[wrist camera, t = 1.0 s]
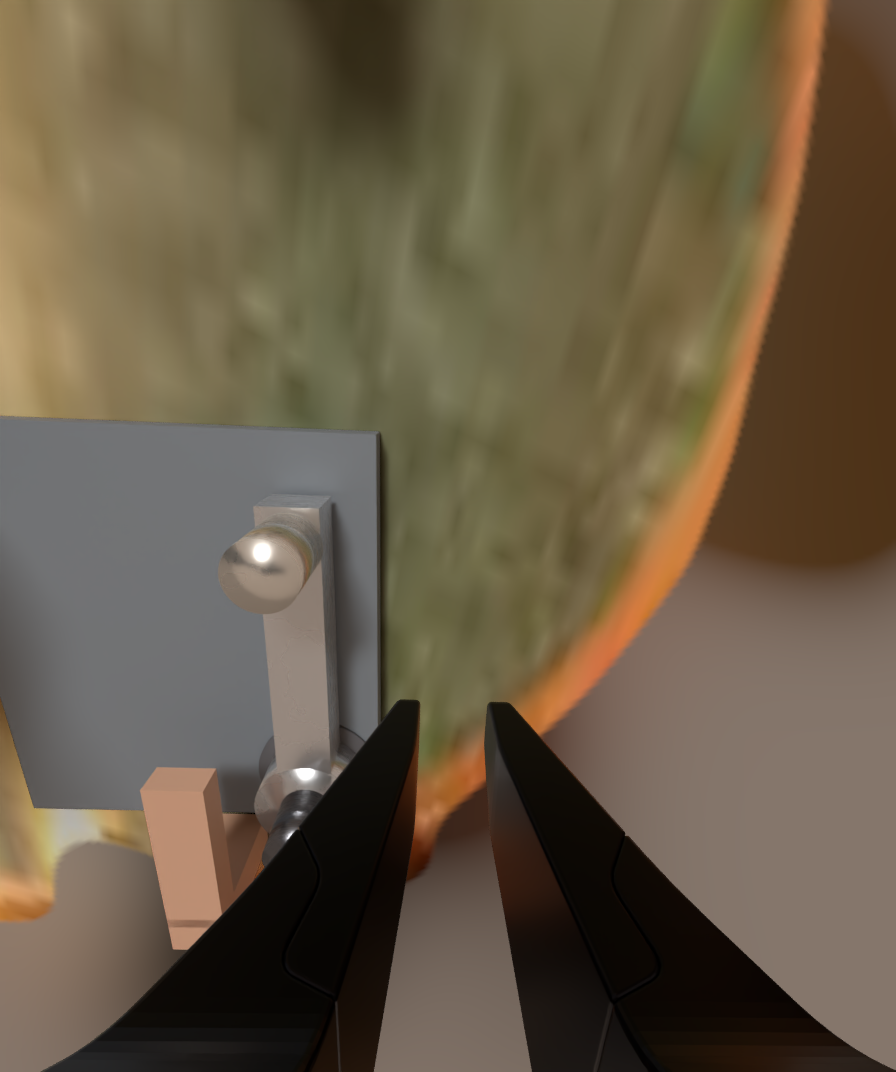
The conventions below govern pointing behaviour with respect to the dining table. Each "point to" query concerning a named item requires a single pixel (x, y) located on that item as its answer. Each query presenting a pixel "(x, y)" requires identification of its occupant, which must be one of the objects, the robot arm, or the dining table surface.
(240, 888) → the bracket
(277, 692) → the swing arm
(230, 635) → the slate board
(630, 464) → the dining table surface
